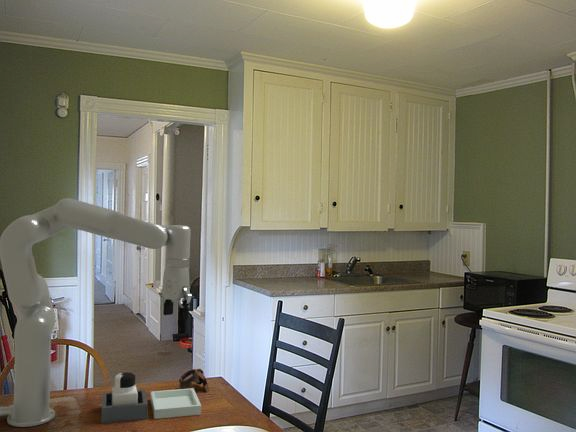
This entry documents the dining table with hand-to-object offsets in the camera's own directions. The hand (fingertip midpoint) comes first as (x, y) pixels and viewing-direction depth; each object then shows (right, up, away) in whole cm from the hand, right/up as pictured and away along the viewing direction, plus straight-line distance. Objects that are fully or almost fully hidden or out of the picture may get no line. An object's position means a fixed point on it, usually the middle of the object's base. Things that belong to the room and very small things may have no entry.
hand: (175, 317), depth 164 cm
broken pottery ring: (+3, -29, +17) cm, 34 cm away
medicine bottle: (-14, -29, -6) cm, 33 cm away
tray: (0, -29, 0) cm, 29 cm away
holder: (-14, -28, -6) cm, 32 cm away
